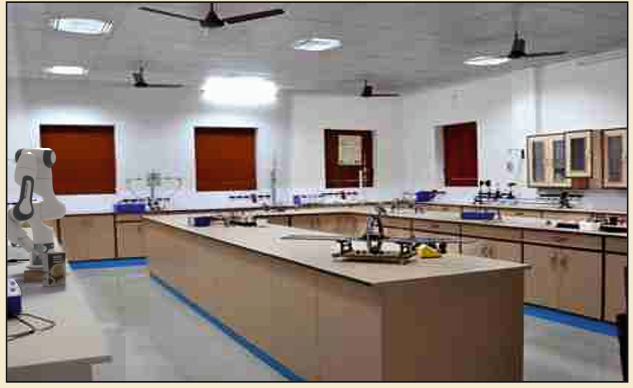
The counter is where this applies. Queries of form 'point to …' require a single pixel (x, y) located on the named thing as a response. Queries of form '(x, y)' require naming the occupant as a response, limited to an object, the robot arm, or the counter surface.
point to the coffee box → (54, 269)
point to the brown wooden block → (33, 276)
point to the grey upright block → (38, 259)
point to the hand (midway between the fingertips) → (38, 253)
